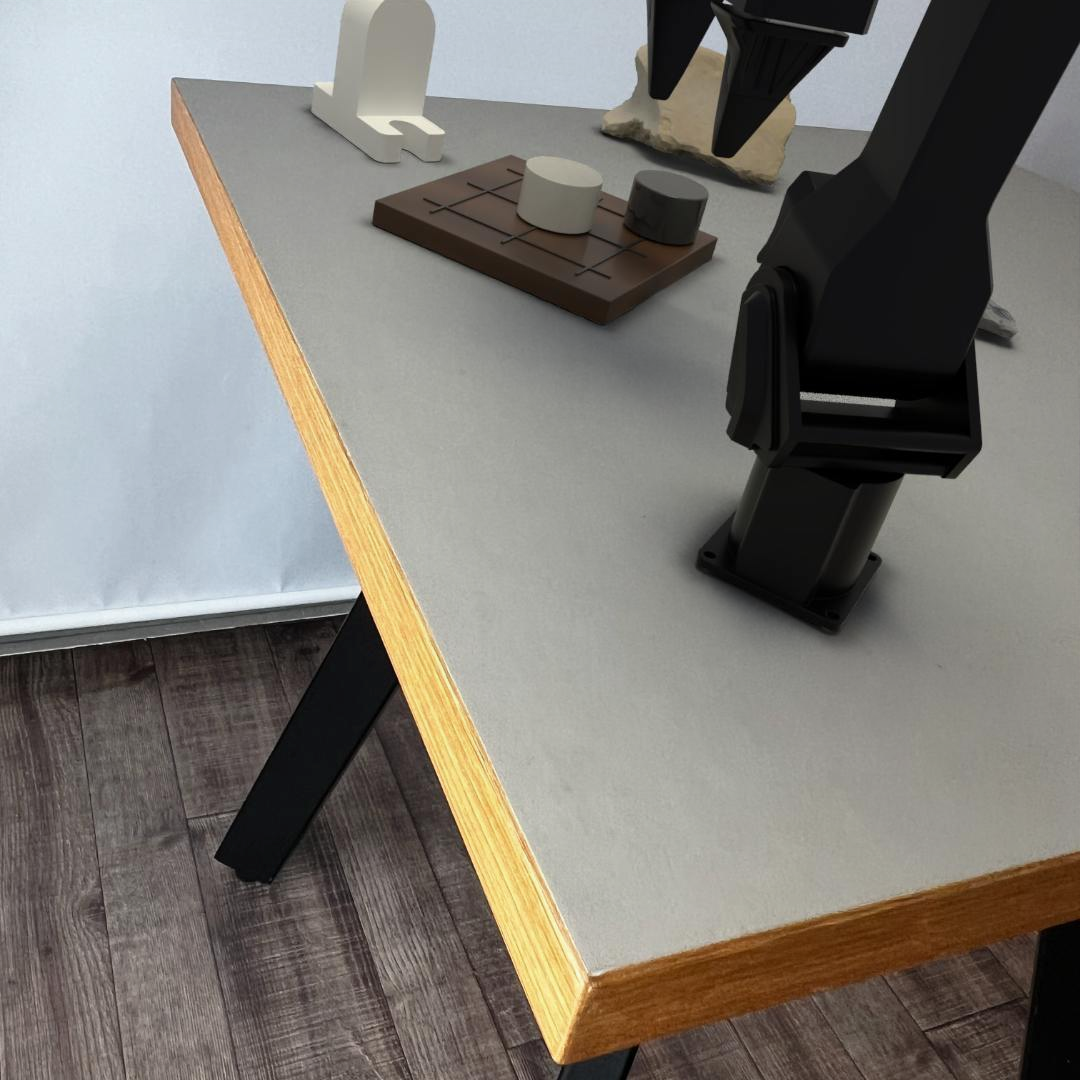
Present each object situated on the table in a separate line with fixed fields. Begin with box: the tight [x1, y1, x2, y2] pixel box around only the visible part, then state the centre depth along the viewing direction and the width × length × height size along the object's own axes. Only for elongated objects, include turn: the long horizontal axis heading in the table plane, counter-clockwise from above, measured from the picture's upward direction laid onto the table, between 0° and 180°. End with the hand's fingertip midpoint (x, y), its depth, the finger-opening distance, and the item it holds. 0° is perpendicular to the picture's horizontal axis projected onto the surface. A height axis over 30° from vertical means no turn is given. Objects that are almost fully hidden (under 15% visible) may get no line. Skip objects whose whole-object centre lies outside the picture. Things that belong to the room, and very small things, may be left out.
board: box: [371, 154, 719, 326], centre depth 77 cm, size 16×16×2 cm
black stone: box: [623, 169, 710, 245], centre depth 78 cm, size 5×5×3 cm
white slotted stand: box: [310, 0, 446, 164], centre depth 84 cm, size 5×10×10 cm, turn 37°
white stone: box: [517, 155, 604, 234], centre depth 76 cm, size 5×5×3 cm
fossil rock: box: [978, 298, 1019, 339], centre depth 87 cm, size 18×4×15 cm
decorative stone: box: [600, 43, 797, 186], centre depth 97 cm, size 8×14×8 cm, turn 80°
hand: (687, 126), depth 64 cm, fingers open, 9 cm apart
